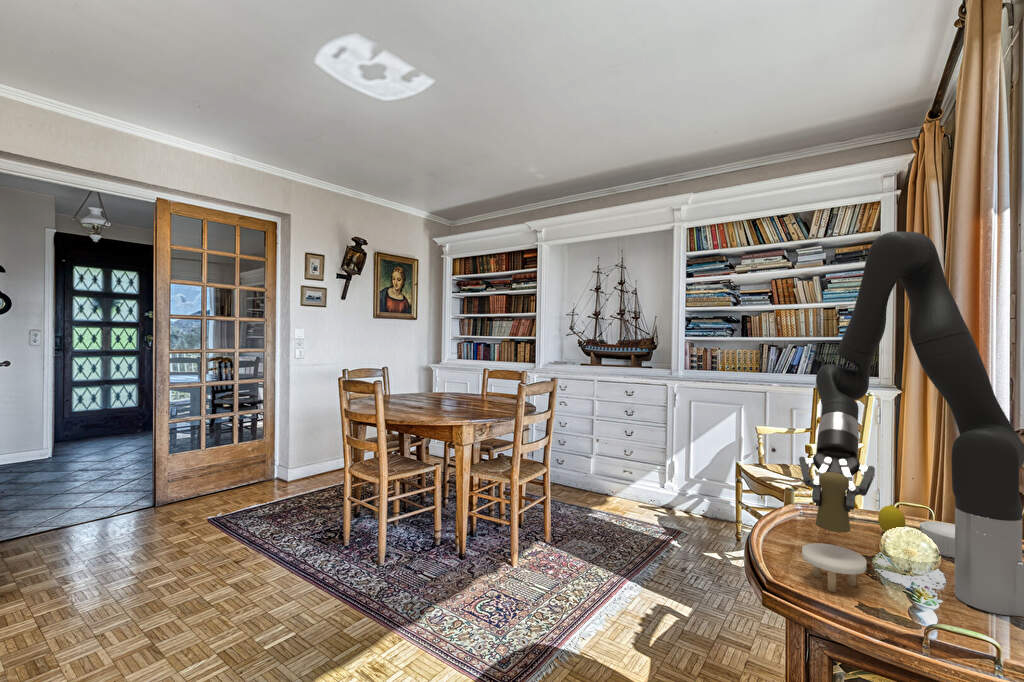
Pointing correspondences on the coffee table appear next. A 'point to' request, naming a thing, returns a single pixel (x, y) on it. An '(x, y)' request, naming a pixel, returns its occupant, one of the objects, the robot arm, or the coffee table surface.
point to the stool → (834, 562)
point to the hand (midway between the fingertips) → (832, 506)
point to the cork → (833, 503)
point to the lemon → (891, 518)
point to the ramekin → (941, 536)
